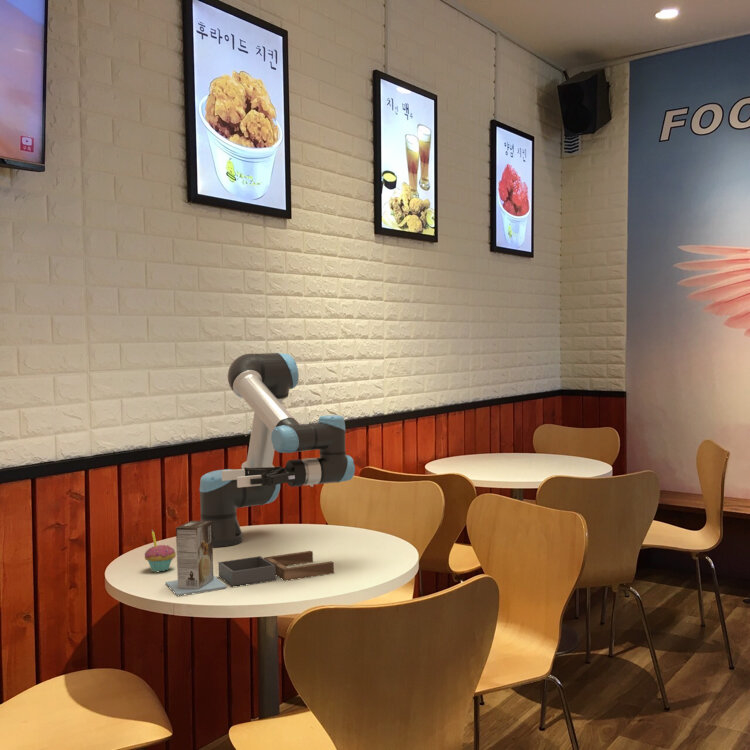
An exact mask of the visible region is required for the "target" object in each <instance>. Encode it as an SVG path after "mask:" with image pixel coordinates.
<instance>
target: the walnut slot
mask: <svg viewBox="0 0 750 750" xmlns="http://www.w3.org/2000/svg"><path fill="white" fill-rule="evenodd" d="M263 558H264V559H266V560H267V561H269V562H270V563H272V564H274V565H275V566H276V575H277V576H276V577H278V576H279V577H280V578H279V577H278V578H279V579H281V578H282V579H283V581H284V580H288V581H292V580H291V579H295V580H299V579H298V578H301V579H304V578H305V577H307V578H311V576H313V577H319V576H318V575H320V576H325V575H324V574H326V575H331V574H330V573H332V574H334V573H335V566H334V561H332V560H331V561H324V562H318V563H313V561H314V552H313V550H312V551H311V550H306V551H305V550H304V551H298V552H293V553H286V554H280V555H279V554H278V555H272V556H271V555H270V556H264V557H263ZM307 562H309V564H307ZM300 563H302V564H303V565H301V564H300ZM310 563H311V564H310ZM294 564H296V565H297V566H295V565H294ZM304 564H305V565H304ZM288 565H289V566H291V567H288ZM282 579H281V580H282ZM305 579H306V578H305Z"/></svg>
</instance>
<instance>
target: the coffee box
mask: <svg viewBox="0 0 750 750" xmlns="http://www.w3.org/2000/svg"><path fill="white" fill-rule="evenodd" d="M175 532H176V533H175V540H176V566H177V570H176V572H177V580H178V588H187V589H200V588H201V587H203V586H204V585H206V584H207V583H209V582H210V581H212V580H213V576H214V556H213V555H214V554H213V553H214V552H213V551H214V549H213V548H214V547H212V521H201V520H190V521H188V522H186V523H184V524H182V525H179V526H176V527H175Z"/></svg>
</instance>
